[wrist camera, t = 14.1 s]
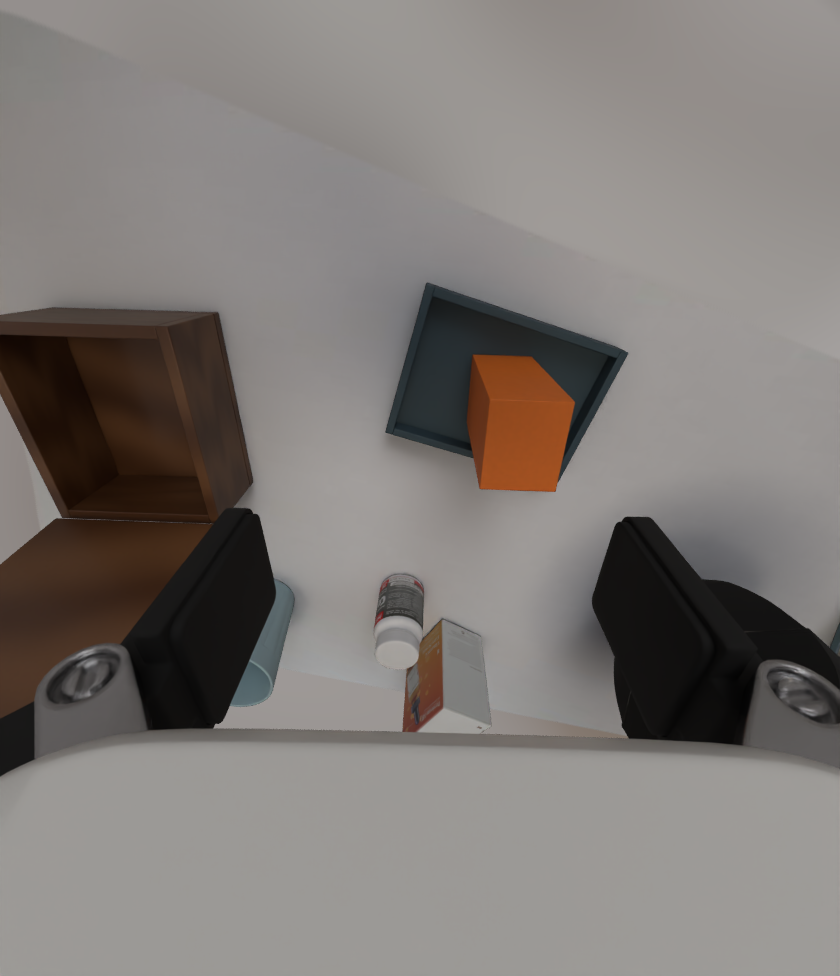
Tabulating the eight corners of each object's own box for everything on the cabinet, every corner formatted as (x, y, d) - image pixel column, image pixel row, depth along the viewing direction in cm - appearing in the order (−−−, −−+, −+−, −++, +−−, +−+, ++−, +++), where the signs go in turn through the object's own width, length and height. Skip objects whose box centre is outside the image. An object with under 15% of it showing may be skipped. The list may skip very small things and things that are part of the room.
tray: (387, 423, 35) (385, 432, 33) (426, 282, 29) (426, 284, 27) (551, 471, 36) (558, 482, 35) (617, 347, 31) (629, 353, 29)
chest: (52, 307, 31) (-38, 320, 25) (218, 312, 30) (167, 326, 25) (119, 477, 38) (61, 518, 32) (253, 482, 38) (220, 524, 32)
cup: (260, 557, 42) (214, 640, 33) (318, 596, 45) (289, 683, 36) (221, 593, 45) (169, 679, 36) (278, 629, 48) (242, 716, 39)
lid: (-198, 727, 19) (-117, 773, 22) (70, 739, 19) (115, 783, 22) (55, 517, 32) (85, 564, 34) (217, 523, 31) (233, 570, 34)
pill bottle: (379, 572, 43) (368, 637, 36) (423, 573, 43) (421, 638, 36) (381, 605, 45) (371, 672, 38) (424, 605, 45) (422, 673, 38)
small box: (442, 616, 46) (444, 706, 37) (482, 635, 47) (494, 726, 38) (405, 655, 49) (399, 746, 40) (444, 671, 51) (446, 763, 42)
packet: (472, 354, 31) (489, 399, 21) (531, 356, 31) (575, 402, 21) (466, 422, 34) (479, 489, 24) (520, 424, 34) (555, 492, 24)
